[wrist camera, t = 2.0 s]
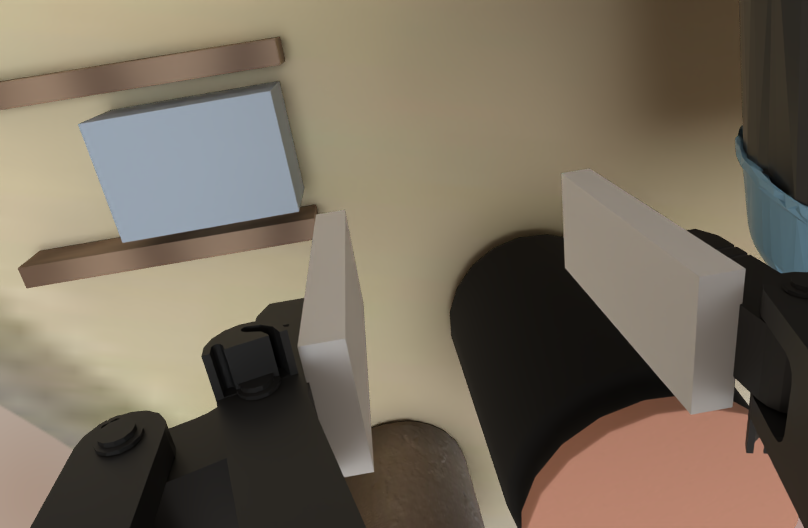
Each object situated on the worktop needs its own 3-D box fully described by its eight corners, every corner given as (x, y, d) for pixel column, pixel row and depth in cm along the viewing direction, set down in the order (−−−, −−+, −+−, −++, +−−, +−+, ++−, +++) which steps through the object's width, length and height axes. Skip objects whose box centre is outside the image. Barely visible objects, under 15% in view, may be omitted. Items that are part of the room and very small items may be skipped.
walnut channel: (280, 36, 31) (274, 38, 28) (320, 223, 35) (318, 238, 33) (-31, 86, 30) (-62, 92, 28) (47, 269, 34) (26, 288, 32)
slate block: (279, 80, 32) (270, 91, 28) (304, 187, 34) (299, 211, 30) (112, 109, 32) (78, 124, 28) (149, 214, 34) (122, 242, 30)
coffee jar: (438, 374, 40) (505, 631, 23) (455, 224, 36) (550, 407, 19) (591, 375, 41) (757, 621, 25) (624, 230, 37) (850, 407, 20)
